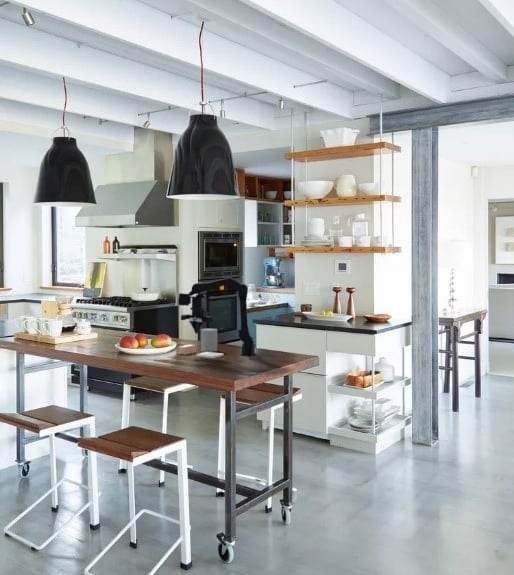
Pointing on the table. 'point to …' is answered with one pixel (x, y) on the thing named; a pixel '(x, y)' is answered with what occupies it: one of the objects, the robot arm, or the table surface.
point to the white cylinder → (208, 340)
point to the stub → (187, 349)
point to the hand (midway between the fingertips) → (196, 333)
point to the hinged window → (209, 354)
